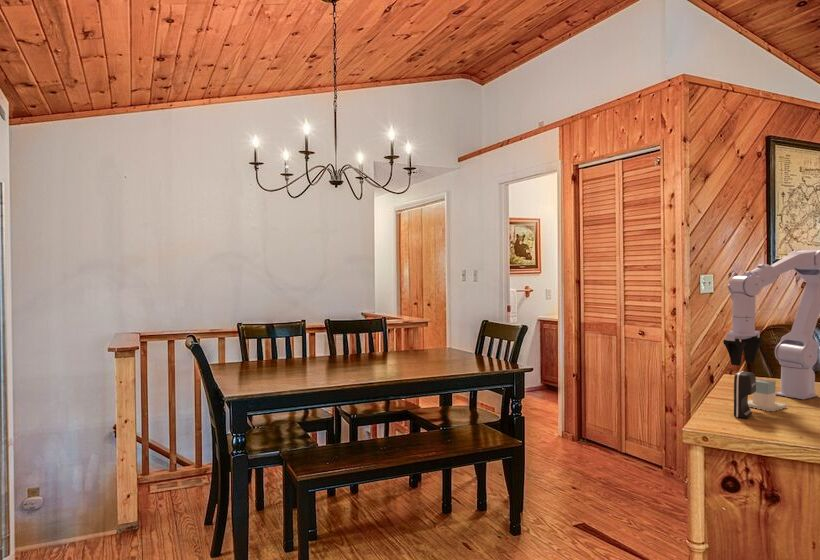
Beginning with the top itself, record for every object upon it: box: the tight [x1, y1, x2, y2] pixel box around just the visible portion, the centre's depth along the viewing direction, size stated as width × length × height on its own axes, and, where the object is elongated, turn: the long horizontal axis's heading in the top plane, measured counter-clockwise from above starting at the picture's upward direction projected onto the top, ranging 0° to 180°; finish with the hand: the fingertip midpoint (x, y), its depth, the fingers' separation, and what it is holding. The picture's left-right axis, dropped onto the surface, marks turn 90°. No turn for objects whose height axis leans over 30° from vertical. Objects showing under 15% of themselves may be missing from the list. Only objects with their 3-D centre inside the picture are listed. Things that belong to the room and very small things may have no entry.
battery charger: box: [733, 370, 757, 419], centre depth 149 cm, size 7×4×11 cm, turn 137°
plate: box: [748, 399, 787, 412], centre depth 159 cm, size 8×8×1 cm
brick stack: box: [751, 379, 776, 406], centre depth 159 cm, size 4×4×6 cm
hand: (742, 363), depth 167 cm, fingers open, 7 cm apart
